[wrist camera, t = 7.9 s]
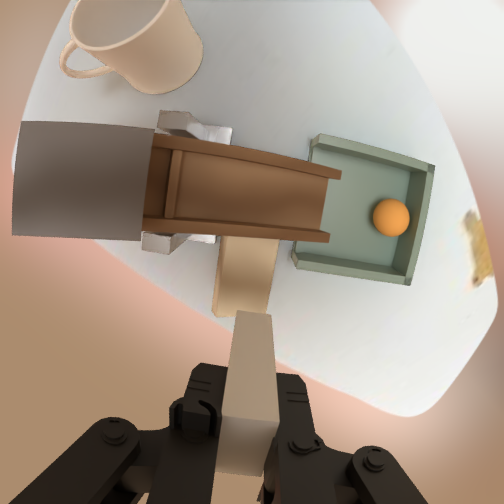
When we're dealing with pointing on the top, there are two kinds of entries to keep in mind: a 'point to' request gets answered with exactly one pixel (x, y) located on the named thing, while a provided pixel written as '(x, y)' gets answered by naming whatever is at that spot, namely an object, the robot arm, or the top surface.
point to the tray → (367, 212)
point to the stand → (188, 128)
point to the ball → (391, 217)
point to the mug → (136, 42)
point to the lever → (169, 197)
